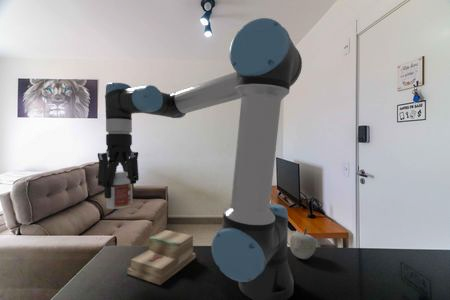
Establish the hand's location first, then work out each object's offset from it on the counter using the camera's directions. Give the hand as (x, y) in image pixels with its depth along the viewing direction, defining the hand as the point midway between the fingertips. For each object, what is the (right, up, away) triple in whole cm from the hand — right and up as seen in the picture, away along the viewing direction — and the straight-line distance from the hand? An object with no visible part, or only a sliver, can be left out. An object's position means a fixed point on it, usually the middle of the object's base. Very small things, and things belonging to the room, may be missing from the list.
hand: (120, 205), depth 75 cm
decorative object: (+61, -20, +7) cm, 65 cm away
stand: (+14, -20, +2) cm, 24 cm away
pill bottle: (0, -1, 0) cm, 1 cm away
